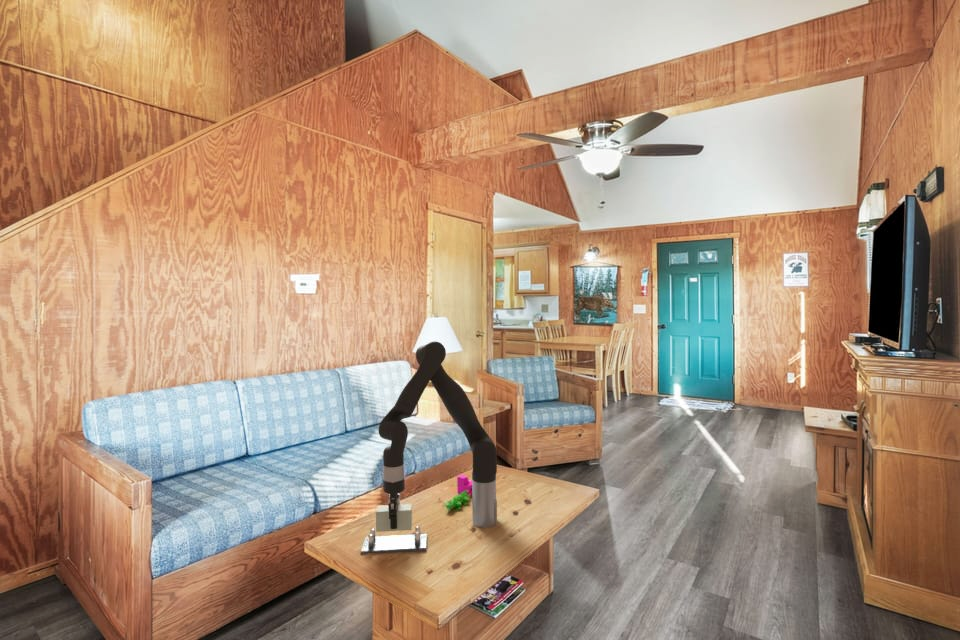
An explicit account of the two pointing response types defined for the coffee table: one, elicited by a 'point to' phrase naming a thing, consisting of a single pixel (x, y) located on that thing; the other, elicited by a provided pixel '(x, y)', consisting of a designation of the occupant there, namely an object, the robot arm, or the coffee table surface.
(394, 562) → the coffee table surface
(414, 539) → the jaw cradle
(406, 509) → the block
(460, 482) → the toy block
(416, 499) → the coffee table surface
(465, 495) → the crocodile figurine
